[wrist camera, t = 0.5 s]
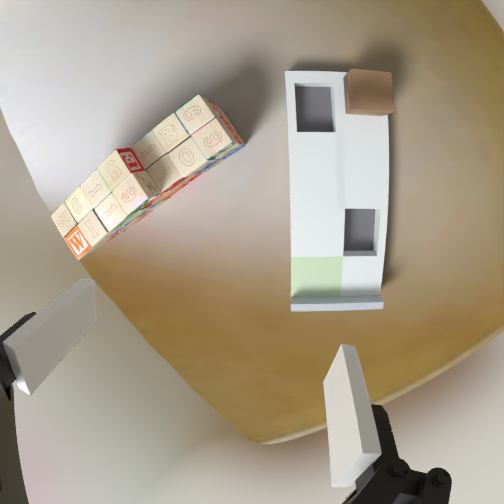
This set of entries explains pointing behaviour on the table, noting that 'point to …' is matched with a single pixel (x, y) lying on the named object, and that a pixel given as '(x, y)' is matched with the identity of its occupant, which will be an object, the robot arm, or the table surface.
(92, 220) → the stack of blocks
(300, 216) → the box
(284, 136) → the table surface
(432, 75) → the table surface
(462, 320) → the table surface
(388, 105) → the walnut block
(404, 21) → the table surface
